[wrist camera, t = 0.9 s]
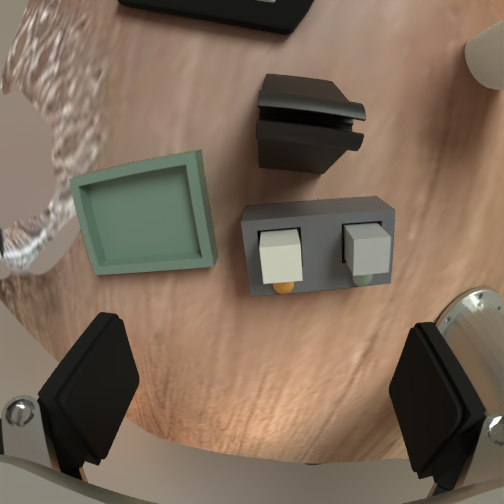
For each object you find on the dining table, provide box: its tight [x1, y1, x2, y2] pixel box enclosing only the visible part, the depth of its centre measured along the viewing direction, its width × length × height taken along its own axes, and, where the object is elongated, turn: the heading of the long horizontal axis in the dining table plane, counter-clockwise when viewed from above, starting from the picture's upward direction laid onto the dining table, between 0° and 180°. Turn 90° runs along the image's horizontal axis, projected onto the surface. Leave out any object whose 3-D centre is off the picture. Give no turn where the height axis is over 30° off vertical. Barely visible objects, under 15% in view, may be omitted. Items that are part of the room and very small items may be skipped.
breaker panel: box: [241, 196, 395, 296], centre depth 28 cm, size 7×13×6 cm, turn 97°
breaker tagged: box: [259, 229, 303, 284], centre depth 24 cm, size 3×3×4 cm
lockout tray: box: [69, 150, 218, 275], centre depth 29 cm, size 11×14×2 cm
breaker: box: [344, 223, 391, 276], centre depth 24 cm, size 3×3×4 cm
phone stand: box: [256, 74, 366, 174], centre depth 21 cm, size 9×6×12 cm, turn 175°
